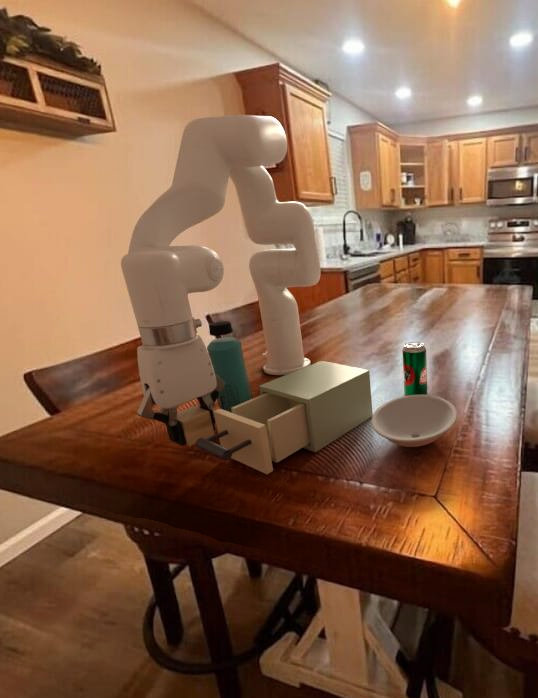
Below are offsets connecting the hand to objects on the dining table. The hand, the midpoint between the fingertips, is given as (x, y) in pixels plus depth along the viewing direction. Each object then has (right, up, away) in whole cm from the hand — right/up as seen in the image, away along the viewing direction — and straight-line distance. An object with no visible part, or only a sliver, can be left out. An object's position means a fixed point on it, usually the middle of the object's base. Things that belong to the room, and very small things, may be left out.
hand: (194, 435), depth 69 cm
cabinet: (+20, 0, +9) cm, 22 cm away
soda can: (+39, +5, +20) cm, 44 cm away
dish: (+38, -2, +2) cm, 38 cm away
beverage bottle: (+2, +1, +14) cm, 15 cm away
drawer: (+13, -2, -1) cm, 13 cm away
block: (0, 0, 0) cm, 0 cm away
